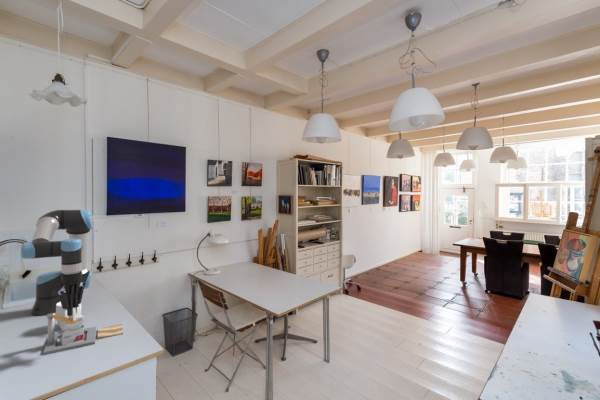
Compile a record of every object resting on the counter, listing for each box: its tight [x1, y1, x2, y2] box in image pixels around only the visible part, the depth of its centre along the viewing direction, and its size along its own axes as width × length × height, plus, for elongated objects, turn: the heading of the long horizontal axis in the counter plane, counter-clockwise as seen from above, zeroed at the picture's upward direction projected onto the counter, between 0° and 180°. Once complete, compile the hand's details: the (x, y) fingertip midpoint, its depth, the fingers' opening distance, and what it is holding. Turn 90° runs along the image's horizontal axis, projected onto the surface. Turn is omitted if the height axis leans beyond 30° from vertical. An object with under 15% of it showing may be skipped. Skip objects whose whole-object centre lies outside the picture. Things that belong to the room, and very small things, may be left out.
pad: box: [97, 324, 124, 340], centre depth 152 cm, size 11×11×1 cm
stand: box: [42, 318, 97, 356], centre depth 142 cm, size 18×19×14 cm
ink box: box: [59, 313, 85, 346], centre depth 142 cm, size 9×5×12 cm, turn 140°
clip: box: [46, 312, 76, 324], centre depth 134 cm, size 3×19×1 cm, turn 69°
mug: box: [56, 302, 82, 327], centre depth 155 cm, size 15×11×13 cm
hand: (72, 321), depth 134 cm, fingers closed
